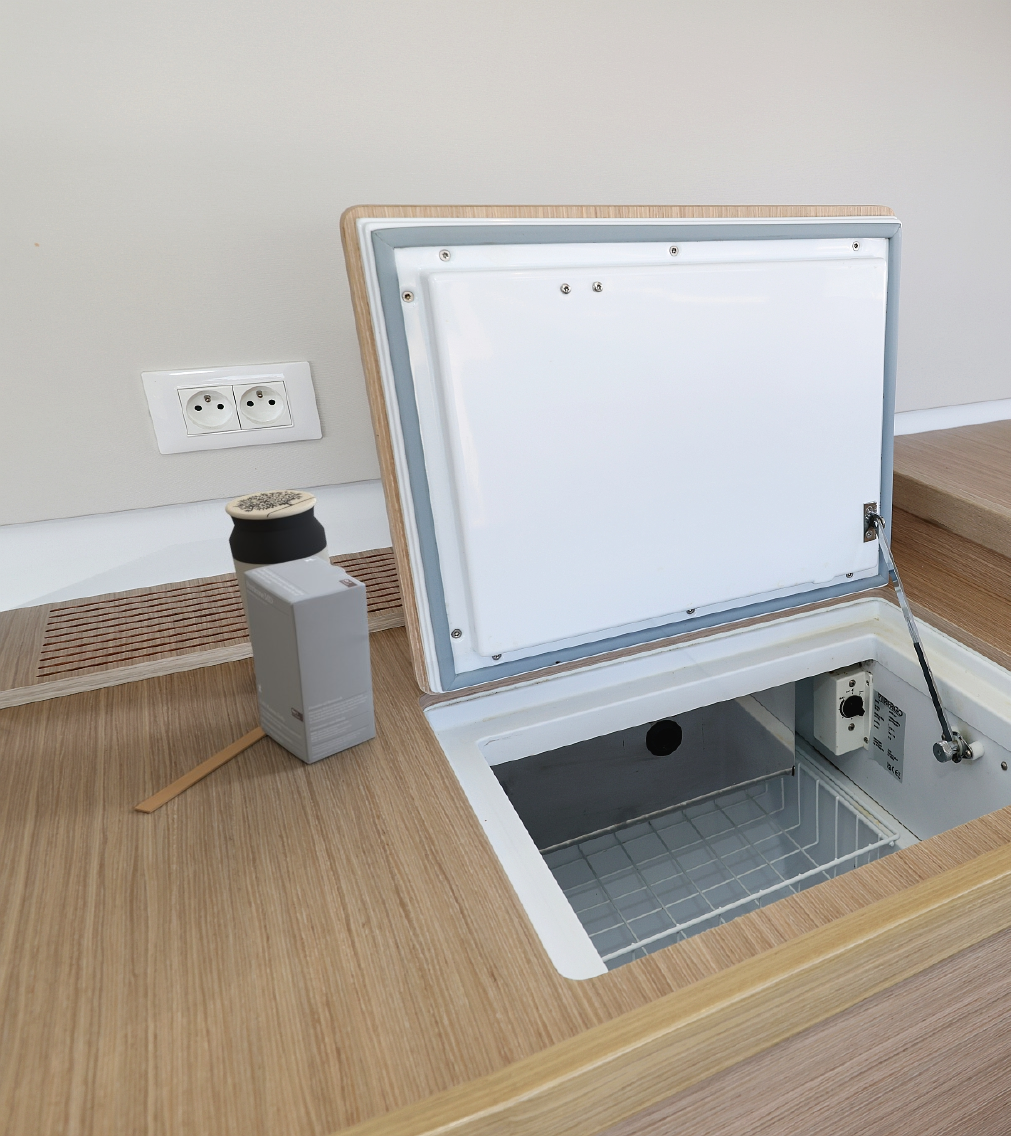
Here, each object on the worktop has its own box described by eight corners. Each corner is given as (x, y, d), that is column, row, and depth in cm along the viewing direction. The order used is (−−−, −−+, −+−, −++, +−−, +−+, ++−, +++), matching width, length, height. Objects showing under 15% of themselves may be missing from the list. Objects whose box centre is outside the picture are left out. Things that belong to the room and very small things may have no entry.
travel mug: (240, 675, 95) (201, 505, 88) (311, 643, 101) (281, 483, 94) (294, 695, 92) (259, 521, 85) (364, 661, 98) (337, 497, 92)
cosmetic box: (260, 733, 85) (228, 572, 79) (338, 702, 91) (314, 549, 85) (309, 769, 81) (279, 602, 75) (388, 735, 86) (367, 576, 80)
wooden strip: (134, 810, 75) (133, 807, 75) (303, 699, 91) (302, 697, 91) (150, 813, 75) (149, 811, 75) (316, 701, 91) (316, 699, 91)
